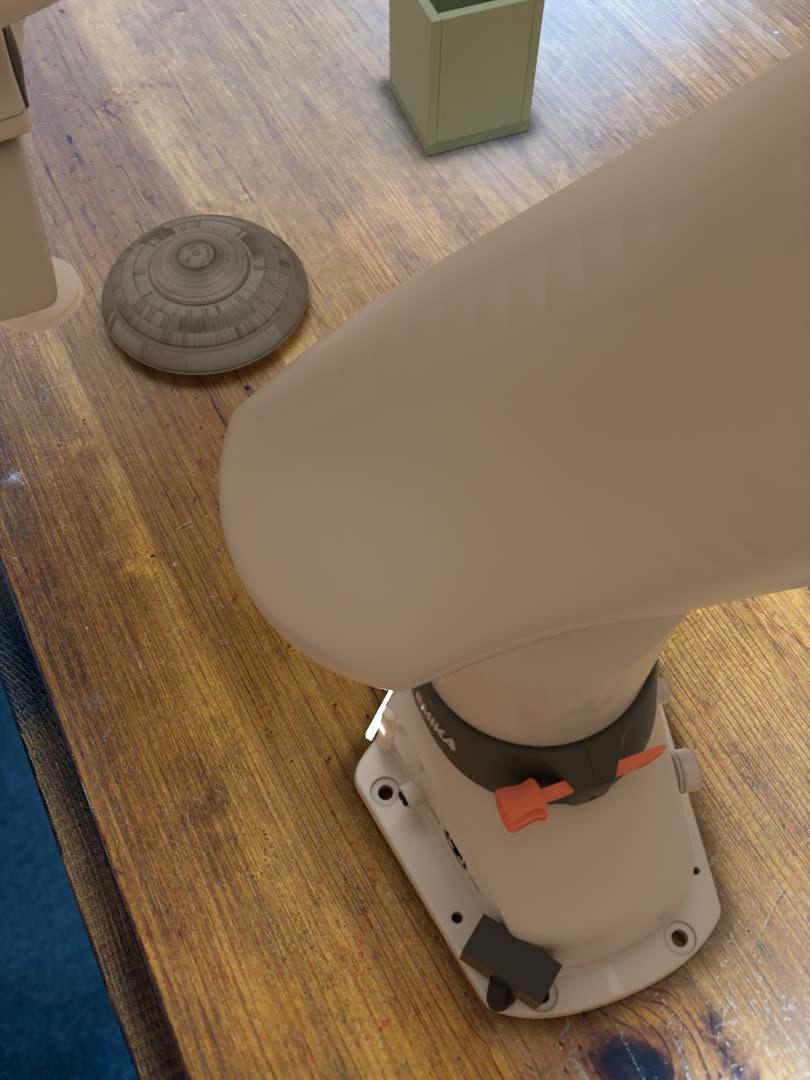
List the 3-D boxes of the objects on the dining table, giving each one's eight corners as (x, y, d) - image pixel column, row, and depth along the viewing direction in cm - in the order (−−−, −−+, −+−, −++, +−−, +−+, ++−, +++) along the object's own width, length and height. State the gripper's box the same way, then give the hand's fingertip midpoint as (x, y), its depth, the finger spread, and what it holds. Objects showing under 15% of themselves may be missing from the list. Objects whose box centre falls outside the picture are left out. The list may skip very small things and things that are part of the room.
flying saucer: (81, 269, 80) (60, 214, 76) (266, 209, 84) (258, 153, 79) (142, 415, 74) (125, 365, 69) (341, 345, 77) (337, 293, 72)
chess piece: (102, 280, 57) (45, 123, 48) (49, 345, 54) (-20, 192, 46) (25, 252, 58) (-43, 93, 49) (-30, 315, 55) (-112, 159, 47)
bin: (545, -5, 78) (431, 22, 76) (528, 130, 88) (427, 156, 87) (498, -73, 82) (388, -49, 80) (486, 64, 92) (389, 87, 91)
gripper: (-207, -140, 45) (-78, 131, 57) (-158, 170, 36) (-15, 417, 48) (-57, -168, 46) (39, 103, 58) (29, 125, 37) (123, 378, 49)
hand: (15, 247), depth 53 cm, fingers closed on chess piece
